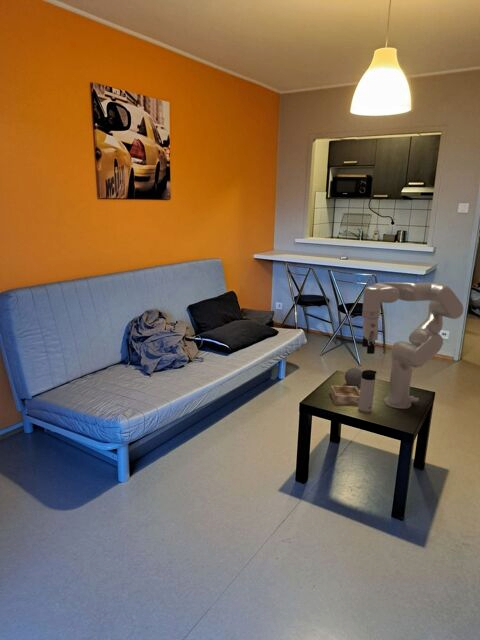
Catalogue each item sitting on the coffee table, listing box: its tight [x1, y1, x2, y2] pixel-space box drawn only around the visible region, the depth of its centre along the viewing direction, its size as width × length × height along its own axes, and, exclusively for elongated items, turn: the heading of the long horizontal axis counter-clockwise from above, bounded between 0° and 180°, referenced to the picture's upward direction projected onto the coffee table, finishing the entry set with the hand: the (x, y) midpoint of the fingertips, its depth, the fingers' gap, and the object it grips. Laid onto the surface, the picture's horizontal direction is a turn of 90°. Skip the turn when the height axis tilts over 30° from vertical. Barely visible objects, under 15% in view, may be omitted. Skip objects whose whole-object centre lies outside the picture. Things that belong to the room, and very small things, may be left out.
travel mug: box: [358, 369, 378, 414], centre depth 210 cm, size 6×7×20 cm
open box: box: [329, 385, 360, 406], centre depth 224 cm, size 13×13×4 cm
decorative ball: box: [344, 367, 363, 387], centre depth 241 cm, size 10×10×10 cm
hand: (368, 350), depth 206 cm, fingers open, 9 cm apart
